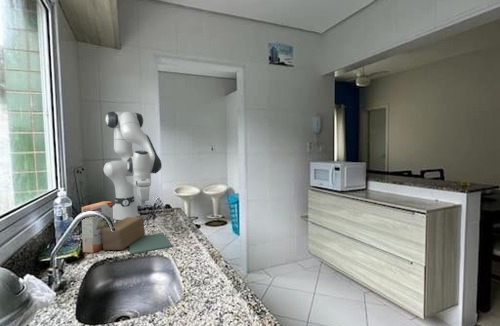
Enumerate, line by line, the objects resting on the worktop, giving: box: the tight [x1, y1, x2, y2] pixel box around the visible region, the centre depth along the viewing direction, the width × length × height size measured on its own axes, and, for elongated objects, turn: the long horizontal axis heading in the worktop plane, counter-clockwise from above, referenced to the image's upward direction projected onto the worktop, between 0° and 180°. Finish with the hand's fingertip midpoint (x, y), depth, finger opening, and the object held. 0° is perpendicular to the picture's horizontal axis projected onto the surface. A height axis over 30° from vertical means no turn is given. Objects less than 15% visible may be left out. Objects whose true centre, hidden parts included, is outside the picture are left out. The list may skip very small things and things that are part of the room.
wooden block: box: [101, 216, 145, 251], centre depth 130 cm, size 10×10×20 cm
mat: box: [128, 232, 173, 255], centre depth 130 cm, size 22×18×1 cm
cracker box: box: [81, 200, 114, 254], centre depth 124 cm, size 14×6×21 cm, turn 171°
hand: (142, 206), depth 143 cm, fingers closed
